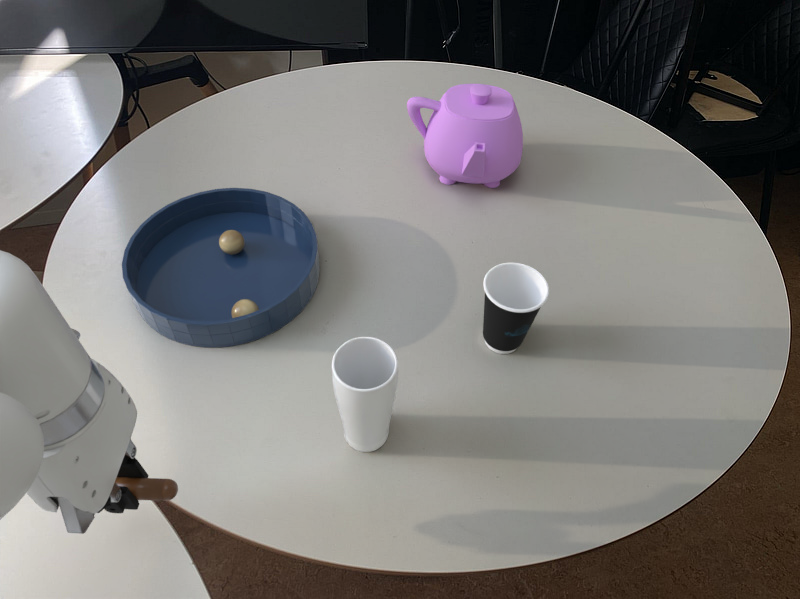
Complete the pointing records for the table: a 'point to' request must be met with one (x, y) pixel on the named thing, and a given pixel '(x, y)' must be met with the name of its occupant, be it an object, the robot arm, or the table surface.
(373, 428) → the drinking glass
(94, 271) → the table surface
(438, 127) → the teapot
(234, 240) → the bead
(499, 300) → the dixie cup
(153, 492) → the stick
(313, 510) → the table surface
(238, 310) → the bead
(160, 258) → the tray
